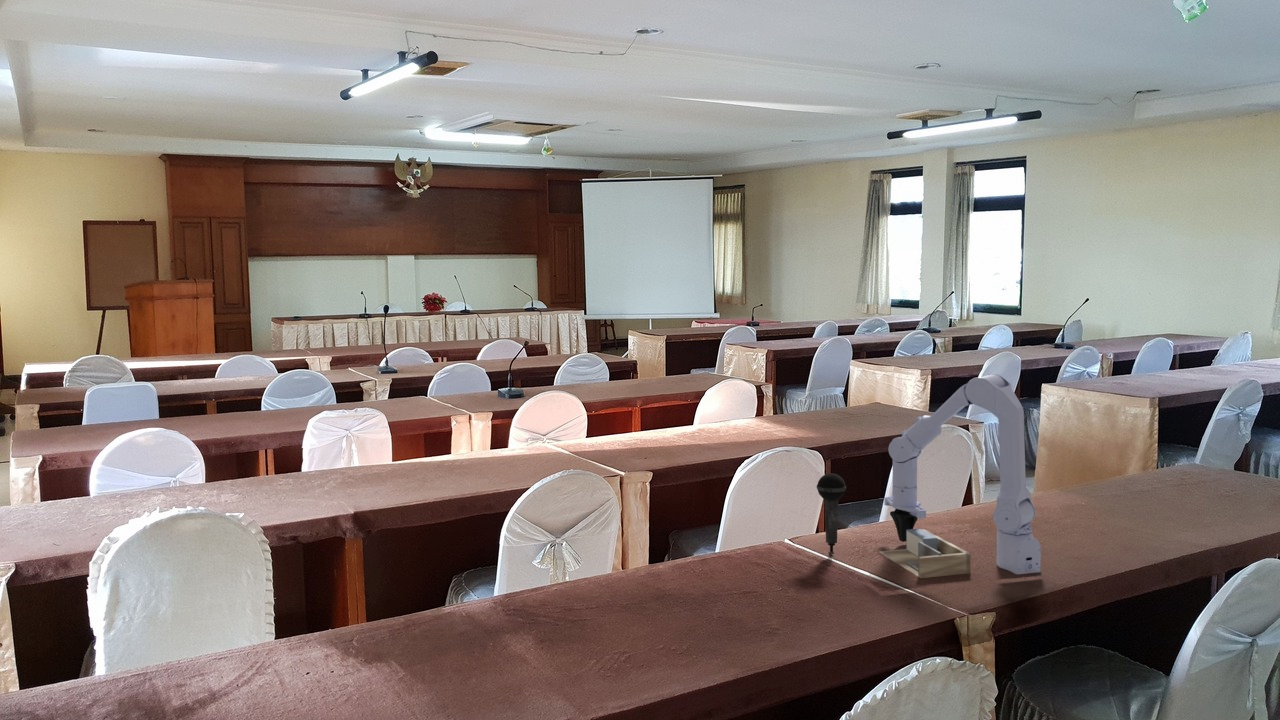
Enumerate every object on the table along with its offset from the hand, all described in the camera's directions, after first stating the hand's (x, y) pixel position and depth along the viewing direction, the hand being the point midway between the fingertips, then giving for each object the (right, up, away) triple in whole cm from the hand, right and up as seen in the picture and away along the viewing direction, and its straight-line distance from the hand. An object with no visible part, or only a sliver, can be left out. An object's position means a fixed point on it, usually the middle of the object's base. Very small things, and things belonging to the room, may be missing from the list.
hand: (904, 540), depth 229 cm
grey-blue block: (+2, -2, -8) cm, 8 cm away
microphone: (-19, -3, -5) cm, 20 cm away
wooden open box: (0, -3, -13) cm, 14 cm away
